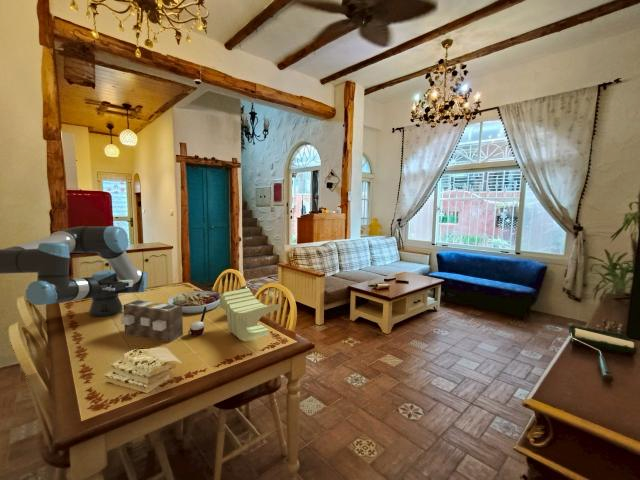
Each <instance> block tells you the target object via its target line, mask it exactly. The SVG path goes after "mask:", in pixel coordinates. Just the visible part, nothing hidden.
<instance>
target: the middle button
mask: <svg viewBox="0 0 640 480" xmlns="http://www.w3.org/2000/svg"><path fill="white" fill-rule="evenodd" d="M140 320H141V325H144V326H150V325H151V322H150V318H149V317H141V318H140Z"/></svg>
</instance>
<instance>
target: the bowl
mask: <svg viewBox="0 0 640 480" xmlns="http://www.w3.org/2000/svg"><path fill="white" fill-rule="evenodd" d="M221 295H222V294H220V293H218V292H215V291H209V290H197V291H194V290H193V291H187V292H186V291H185V292H182V293H179V294H175V295H173V296H171V297H169V298H168V299H167V302H166V304H169V305H176V306H182V314H187V315H188V314H190V315H191V314H199V313H200V314H201V313H203V310H204V307H207V309H206V312H208V311H211V310H213V309H215V308H217V307H218V306H220V297H221Z"/></svg>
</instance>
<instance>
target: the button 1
mask: <svg viewBox="0 0 640 480" xmlns="http://www.w3.org/2000/svg"><path fill="white" fill-rule="evenodd" d="M133 323H135V315H129V314H127V315H124V314H123V315H122V316H120V324H121V325H124V324H125V325H130V324H133Z"/></svg>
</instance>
